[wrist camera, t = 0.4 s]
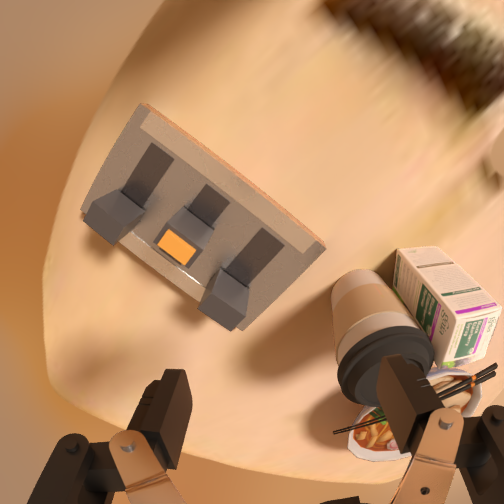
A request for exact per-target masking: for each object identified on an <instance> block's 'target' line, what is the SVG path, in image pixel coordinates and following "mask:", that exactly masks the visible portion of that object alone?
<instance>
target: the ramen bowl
mask: <svg viewBox="0 0 504 504" xmlns="http://www.w3.org/2000/svg"><path fill="white" fill-rule="evenodd" d="M497 366H498V365H497V363H494V364H493V365H491V366H489V367H487V368H486V369H484V370H482V371H480V372H479V373H477V374H475V375H474V376H472V375H471V374H470V373H467V372H465V371H463V370H460V369H456V368H447V369H438V367H431V369H430V371H429V373H428V374H427V377H426V379H428V381H429V382H430V385H432V387H433V389H434V390H435V392H436V393H437V395H438V396H439V398H440V400H441V401H442V403H443V404H444V406H445V408H451V409H454V410H456V411H458V412H459V413H460V414H461V415H462V417H471V416H472V415H473V414H474V412H475V410H476V408H477V406H478V404H479V402H480V400H481V398H482V385H481V383H482V382H484V381H486V380H488V379H490V378H492V377H494V376H495V375H496V372H495V371H493V370H495V369H496V368H497ZM491 371H492V372H491ZM489 372H491V373H489ZM487 373H489V374H487ZM485 374H487V375H485ZM483 375H485V376H483ZM482 376H483V377H482ZM480 377H481V378H480ZM478 378H479V379H478ZM349 428H351V429H349ZM345 429H348V430H345ZM341 430H344V431H341ZM338 431H341V432H338ZM346 431H350V432H349V436H348V445H347V448H348V449H349V450H350V451H351V452H352V453H353V454H354V455H355V456H356V457H357V458H361V459H364V460H368V461H372V462H377V461H394V460H398V459H402V458H406V457H409V456H412V455H411V453H410V452H408V453H405V454H400V451H399V449H398V446H397V444H396V441H395V439H394V436H393V434H392V431H391V429H390V426H389V424H388V421H387V419H386V416H385V414H384V412H383V409H382V407H369V406H366V405H365V406H364V408H363V409H362V411H361V412H360V413H359V415H358V416H357V418H356V419H355V421H354V423H353V424H352V426H350V427H347V428H343V429H340V430H336V431H333V434H338V433H342V432H346ZM334 432H337V433H334Z"/></svg>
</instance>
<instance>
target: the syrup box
mask: <svg viewBox="0 0 504 504" xmlns="http://www.w3.org/2000/svg"><path fill="white" fill-rule="evenodd" d="M392 290H393V291H394V293H395V294H396V295H397V297H398V298H399V299H400V300H401V302H402V303H403V304H404V306H405V307H406V308H407V310H408V311H409V312H410V314H411V315H412V316H413V318H414V319H415V320H416V322H417V323H418V325H419V328H420V330H422V331H423V332H425V333H426V334H427V335H428V337H429V338H430V340H431V344H432V346H433V349H434V361H435V363H436V365H437V367H438V369H447V368H452V367H457V366H462V365H465V364H468V363H471V362H474V361H477V360H479V359H482V358H484V357H485V354H486V350H487V347H488V345H489V343H490V340H491V338H492V336H493V333H494V331H495V328H496V325H497V322H498V319H499V316H500V313H501V310H502V307H501V306H500V305H499V303H498V302H497V301H496V300H495V299H494V298H493V297H492V296H491V295H490V294H489V293H488V292H487V291H486V290H485V289H483V288H482V287H481V286H480V285H479V284H478V283H477V282H476V281H475V280H474V279H473V278H472V277H471V276H470V275H469V274H468V273H467V272H465V271H464V270H463V269H462V268H461V267H460V266H459V265H458V264H457V263H456V262H454V261H453V260H452V259H451V258H450V257H449V256H448V255H447V254H445V253H444V252H443V251H442V250H441V249H440V248H439V247H437V246H425V247H413V248H401V249H397V252H396V262H395V270H394V279H393V288H392Z"/></svg>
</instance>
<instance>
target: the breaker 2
mask: <svg viewBox="0 0 504 504" xmlns="http://www.w3.org/2000/svg"><path fill="white" fill-rule="evenodd" d="M249 293H250V290H249V289H247V288H246V287H245V286H243V285H242V284H241V283H239V282H238V281H236V280H235V279H234V278H232V277H231V276H230V275H228V274H227V273H226V272H224V271H223V270H222V269H219V271H218V272H217V273H216V274H215V275H214V276H213V278H212V279H211V280H210V281H209V282H208V283H207V286H206V288H205V291H204V293H203V296H202V298H201V301H200V303H199V306H198V308H197V309H198V310H200V311H201V312H203V313H204V314H206V315H207V316H209V317H210V318H211V319H213V320H214V321H216V322H217V323H219V324H220V325H222V326H223V327H225V328H226V329H228V330H229V331H232V330H233V329H234V328H235V327H236V326H237V325H238V324H239V323H240V322H241V321H242V320H243V319H244V318H245V317H246V312H247V306H248V299H249Z"/></svg>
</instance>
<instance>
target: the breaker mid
mask: <svg viewBox="0 0 504 504" xmlns="http://www.w3.org/2000/svg"><path fill="white" fill-rule="evenodd" d="M213 232H214V230H213V229H211V228H210V227H209V226H207V225H206V224H205V223H203V222H202V221H201V220H200V219H198V218H197V217H196V216H194V215H193V214H192V213H190V212H189V211H188V210H187V209H185V208H184V207H182V208H181V209H180V210H179V211H178V212H177V213H175V214H174V215H173V216H172V217H171V218H170V219H169V220H168V221H167V222H166V224H165V225H164V227H163V228H162V230H161V231H160V232H159V234H158V235H157V237H156V238H155V240H154V241H153V243H155V244H156V245H157V246H159V247H160V248H161V249H163V250H164V251H165V252H167V253H168V254H169V255H170V256H172V257H173V258H174V259H176V260H177V261H178V262H180V263H181V264H182V265H184V266H185V267H186V268H188V269H189V268H190V267H191V265H192V264H193V263H194V262H195V260H196V259H197V258H198V256H199V255H200V254H201V253H202V251H203V250H204V248H205V247H206V245H207V243H208V241H209V239H210V237H211V236H212V234H213Z"/></svg>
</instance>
